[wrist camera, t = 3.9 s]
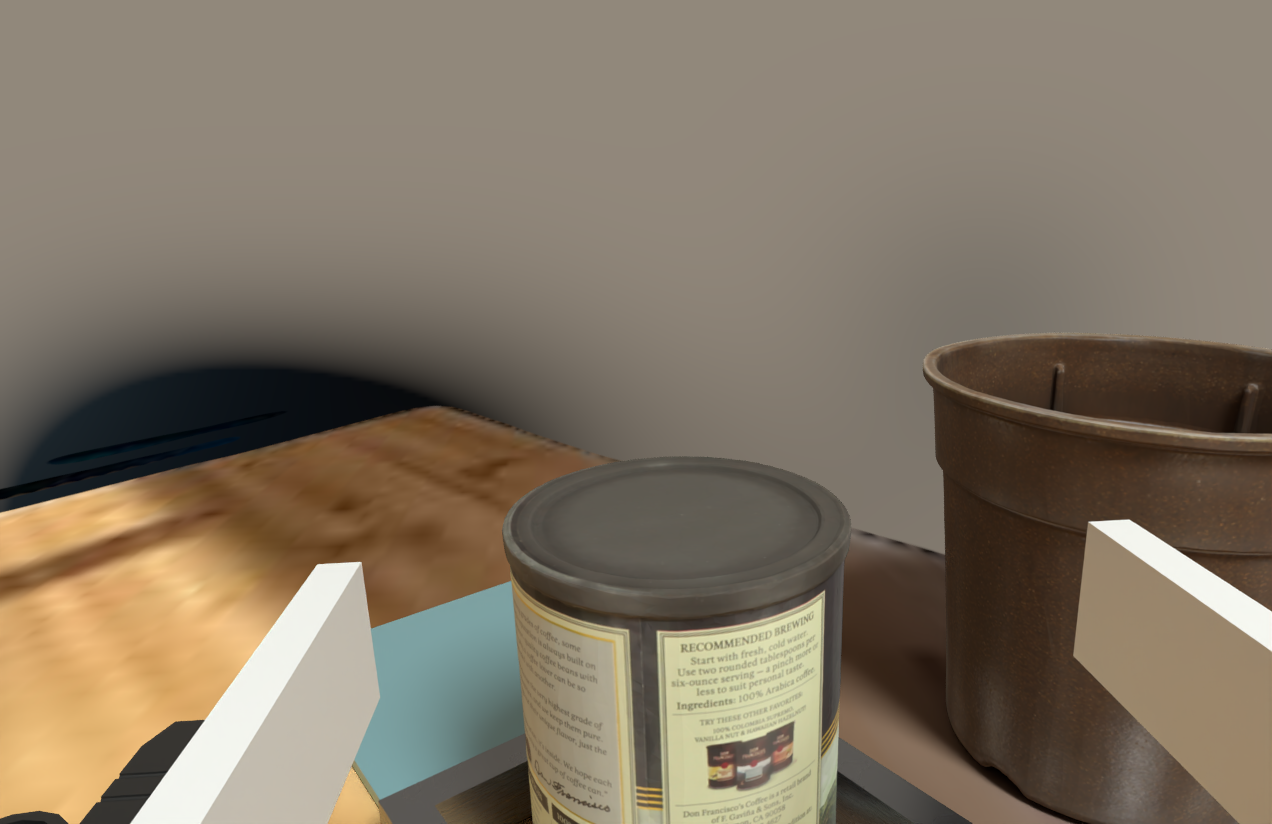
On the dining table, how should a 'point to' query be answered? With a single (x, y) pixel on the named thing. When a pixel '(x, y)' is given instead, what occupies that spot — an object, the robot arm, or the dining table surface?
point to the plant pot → (1056, 538)
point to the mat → (442, 690)
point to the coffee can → (680, 643)
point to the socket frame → (500, 795)
